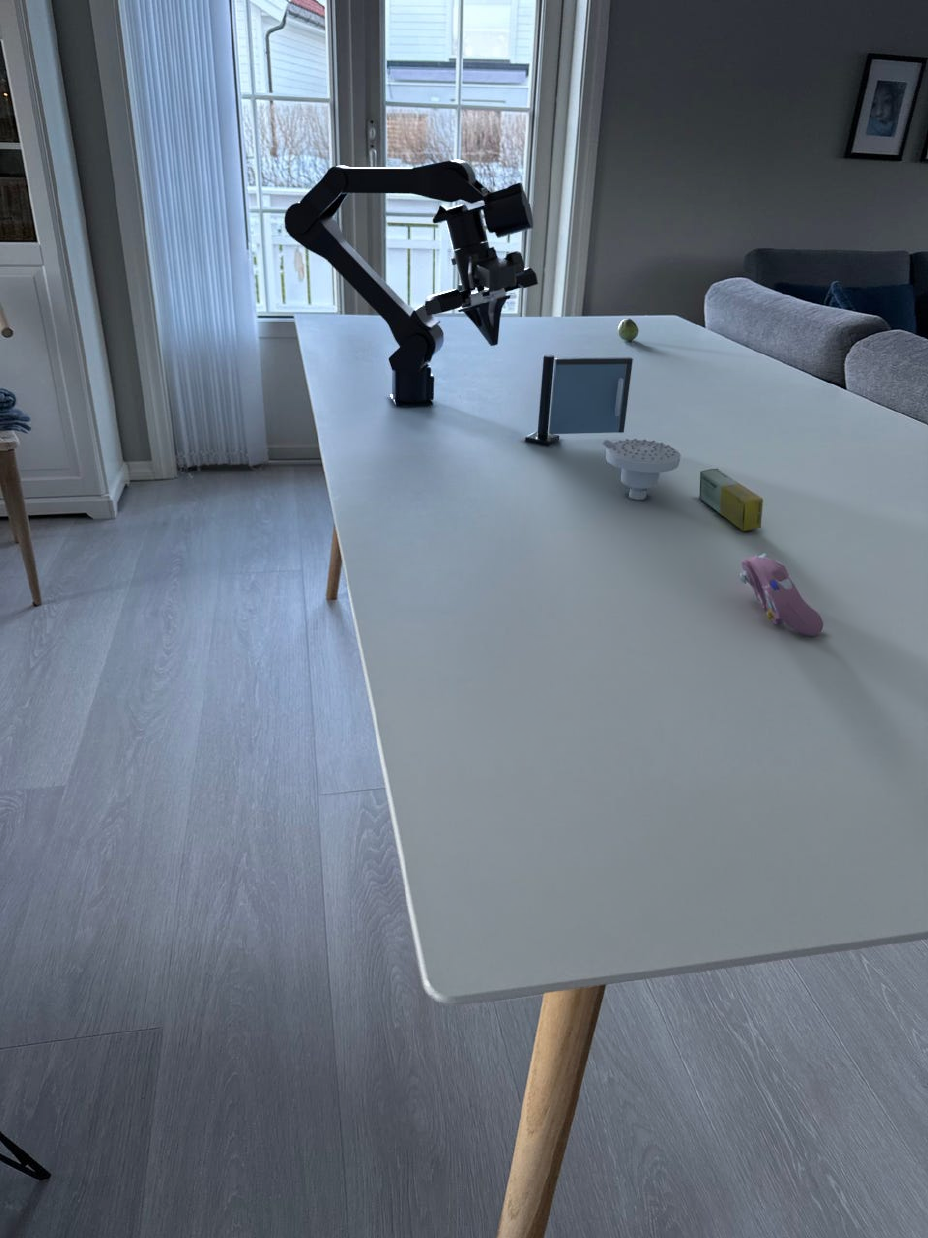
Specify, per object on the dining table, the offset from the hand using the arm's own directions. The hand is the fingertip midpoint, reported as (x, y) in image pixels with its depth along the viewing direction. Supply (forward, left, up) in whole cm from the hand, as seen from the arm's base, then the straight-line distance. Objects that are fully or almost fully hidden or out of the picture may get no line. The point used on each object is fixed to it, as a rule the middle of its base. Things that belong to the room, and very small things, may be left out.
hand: (494, 345), depth 148 cm
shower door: (+10, -19, -10) cm, 23 cm away
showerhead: (+8, -43, -11) cm, 45 cm away
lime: (+50, +56, -11) cm, 76 cm away
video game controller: (+8, -77, -11) cm, 78 cm away
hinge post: (+3, -18, -11) cm, 21 cm away
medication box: (+17, -51, -11) cm, 55 cm away
